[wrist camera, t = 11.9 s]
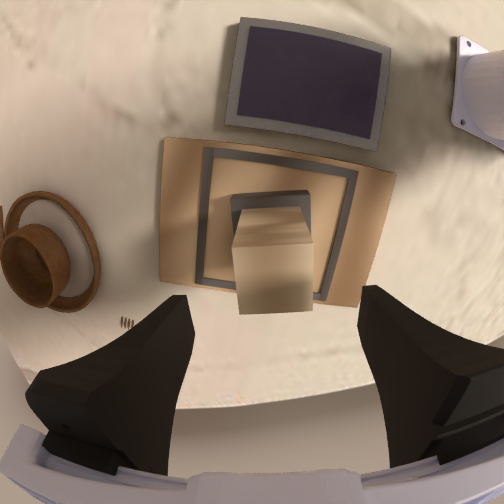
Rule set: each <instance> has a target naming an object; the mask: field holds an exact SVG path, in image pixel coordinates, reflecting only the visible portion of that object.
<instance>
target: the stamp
mask: <svg viewBox="0 0 504 504" xmlns="http://www.w3.org/2000/svg"><path fill="white" fill-rule="evenodd" d="M230 206H231V216H232V225H233V235H234V241H233V244H232V256H233V265H234V273H235V282H236V290H237V298H238V306H239V314H240V315H241V314H267V313H288V312H304V311H312V308H313V264H314V243H313V240H312V238H311V195H310V193H309V192H308V190H289V191H270V192H254V193H239V194H232V196H231V198H230Z"/></svg>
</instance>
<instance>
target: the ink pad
mask: <svg viewBox="0 0 504 504" xmlns="http://www.w3.org/2000/svg"><path fill="white" fill-rule="evenodd" d="M390 57H391V48H389V47H386V46H383V45H380V44H377V43H374V42H370V41H367V40H364V39H360V38H357V37H353V36H350V35H346V34H342V33H338V32H334V31H330V30H325V29H321V28H316V27H311V26H306V25H300V24H295V23H288V22H282V21H275V20H266V19H257V18H246V17H241V18H240V24H239V29H238V35H237V42H236V48H235V54H234V60H233V67H232V74H231V80H230V87H229V94H228V102H227V109H226V117H225V124H224V125H233V126H242V127H250V128H258V129H265V130H272V131H278V132H285V133H291V134H296V135H302V136H308V137H313V138H318V139H323V140H328V141H333V142H337V143H342V144H346V145H351V146H355V147H359V148H363V149H367V150H371V151H375V152H377V147H378V142H379V136H380V130H381V125H382V118H383V112H384V106H385V99H386V91H387V84H388V76H389V67H390Z"/></svg>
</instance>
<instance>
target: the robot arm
mask: <svg viewBox="0 0 504 504" xmlns="http://www.w3.org/2000/svg"><path fill="white" fill-rule="evenodd" d="M466 42H467V43H468V45H469V46H468V45H467V43H466ZM461 120H462V122H463V124H462V125H461V122H460V121H461ZM451 122H452V124H453V125H454V126H456V127H458V128H460V129H462V130H465V131H467V132H469V133H471V134H473V135H475V136H477V137H479V138H481V139H483V140H485V141H487V142H489V143H491V144H493V145H495V146H497V147H498V148H500V149H502V150H504V50H501V51H495V52H489V51H487V50H486V49H484V48H483V47H481V46H479V45H478V44H476V43H474V42H473V41H471V40H469V39H468V38H466V37H464V36H459V37H458V38H457V61H456V77H455V88H454V98H453V107H452V114H451ZM357 327H358V332H359V336H360V340H361V344H362V348H363V350H364V353H365V356H366V358H367V361H368V364H369V366H370V369H371V372H372V374H373V377H374V380H375V382H376V385H377V388H378V392H379V395H380V400H381V404H382V409H383V414H384V419H385V426H386V432H387V440H388V448H389V459H390V469H386V470H381V471H376V472H372V473H366V474H361V475H360V474H359V473H356V472H353V471H350V470H346V469H330V470H329V469H328V470H315V471H303V472H286V473H230V472H229V473H228V472H205V473H201V474H198V475H195V476H192V477H190V478H188V479H184V478H177V477H170V476H168V459H169V448H170V440H171V433H172V425H173V418H174V414H175V408H176V403H177V399H178V395H179V392H180V389H181V386H182V383H183V379H184V376H185V373H186V370H187V367H188V364H189V361H190V358H191V354H192V350H193V344H194V338H195V331H194V326H193V322H192V318H191V314H190V309H189V305H188V300H187V296H186V295H172V296H171V297H169V298H168V299H167V300H166V301H164V302H163V303H162V304H161V305H160V306H158V307H157V308H156V309H155V310H154V311H153V312H151V313H150V314H149V315H148V316H147V317H145V318H144V319H143V320H142V321H140V322H139V323H138V324H136V325H135V326H134V327H132V328H131V329H130V330H129V331H127V332H126V333H124V334H123V335H122V336H120V337H119V338H117V339H115V340H114V341H112V342H111V343H109V344H107V345H105V346H104V347H102V348H100V349H98V350H96V351H94V352H92V353H90V354H88V355H86V356H83V357H81V358H79V359H76V360H74V361H71V362H68V363H65V364H62V365H59V366H56V367H52V368H49V369H45V370H41V371H40V372H39V373H38V374H37V376H36V377H35V379H34V380H33V382H32V383H31V385H30V386H29V388H28V390H27V391H26V393H25V396H26V400H27V403H28V405H29V406H30V408H31V409H32V410H33V412H34V413H35V414H36V415H37V417H38V418H39V419H40V420H41V421H42V422H43V424H44V425H45V426H46V427H47V428H48V430H49V432H48V434H47V435H46V436H45V435H44V434H43V433H41V432H39V431H37V430H35V429H33V428H30V427H28V426H26V425H24V424H20V426H19V427H18V429H17V431H16V433H15V434H14V436H13V438H12V440H11V442H10V443H9V446H8V447H7V449H6V451H5V453H4V455H3V456H2V458H1V460H0V472H1V473H3V474H4V475H5V476H6V477H7V478H9V479H10V480H11V481H12V482H14V483H15V484H17V485H18V486H19V487H20V488H22V489H23V490H24V491H26V492H27V493H29V494H30V495H31V496H33V497H34V498H36V499H38V500H39V501H41V502H43V503H45V504H486V503H488V502H490V501H491V500H493V499H495V498H497V497H498V496H500V495H502V494H503V493H504V349H502V348H497V347H491V346H488V345H484V344H481V343H477V342H474V341H471V340H468V339H465V338H463V337H461V336H458V335H456V334H453V333H451V332H449V331H447V330H445V329H443V328H441V327H439V326H437V325H435V324H433V323H431V322H430V321H428V320H426V319H425V318H423V317H422V316H420V315H418V314H417V313H415V312H414V311H412V310H411V309H409V308H408V307H407V306H405V305H404V304H402V303H401V302H400V301H398V300H397V299H395V298H394V297H393V296H391V295H390V294H389V293H387V292H386V291H385V290H383V289H382V288H380V287H379V286H377V285H369V286H362V294H361V302H360V309H359V317H358V323H357Z"/></svg>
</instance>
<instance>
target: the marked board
mask: <svg viewBox="0 0 504 504" xmlns="http://www.w3.org/2000/svg"><path fill="white" fill-rule="evenodd" d="M395 178H396V174H394V173H391V172H387V171H384V170H380V169H376V168H371V167H367V166H363V165H359V164H354V163H350V162H345V161H341V160H336V159H331V158H326V157H321V156H316V155H310V154H305V153H299V152H293V151H287V150H281V149H275V148H268V147H261V146H254V145H246V144H238V143H229V142H220V141H210V140H199V139H187V138H172V137H166V138H164V150H163V163H162V179H161V200H160V241H159V266H160V281H162V282H168V283H174V284H180V285H186V286H192V287H199V288H205V289H212V290H218V291H225V292H232V293H237V290H236V282H235V273H234V265H233V256H232V244H233V241H234V235H233V225H232V216H231V206H230V198H231V196H232V194H239V193H254V192H270V191H289V190H308V192H309V193H310V195H311V238H312V240H313V243H314V264H313V303H317V304H326V305H336V306H345V307H355V308H357V307H358V304H359V302H360V299H361V294H362V286H365V284H366V281H367V278H368V275H369V272H370V269H371V266H372V263H373V260H374V257H375V254H376V250H377V247H378V244H379V240H380V237H381V233H382V230H383V226H384V223H385V219H386V215H387V211H388V207H389V204H390V200H391V196H392V191H393V187H394V183H395Z"/></svg>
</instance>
